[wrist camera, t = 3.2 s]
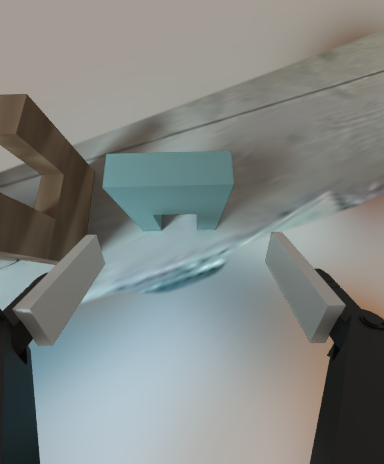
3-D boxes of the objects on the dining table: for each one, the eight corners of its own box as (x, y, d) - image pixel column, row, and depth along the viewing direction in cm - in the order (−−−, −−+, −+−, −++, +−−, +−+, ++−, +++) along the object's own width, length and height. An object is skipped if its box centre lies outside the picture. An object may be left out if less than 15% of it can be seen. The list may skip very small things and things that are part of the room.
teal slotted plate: (143, 231, 26) (102, 187, 14) (144, 210, 27) (106, 153, 15) (215, 229, 26) (234, 184, 14) (214, 209, 27) (231, 150, 15)
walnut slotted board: (63, 265, 25) (-53, 249, 13) (78, 172, 28) (-2, 94, 17) (82, 265, 25) (-17, 248, 13) (94, 171, 28) (26, 94, 17)
